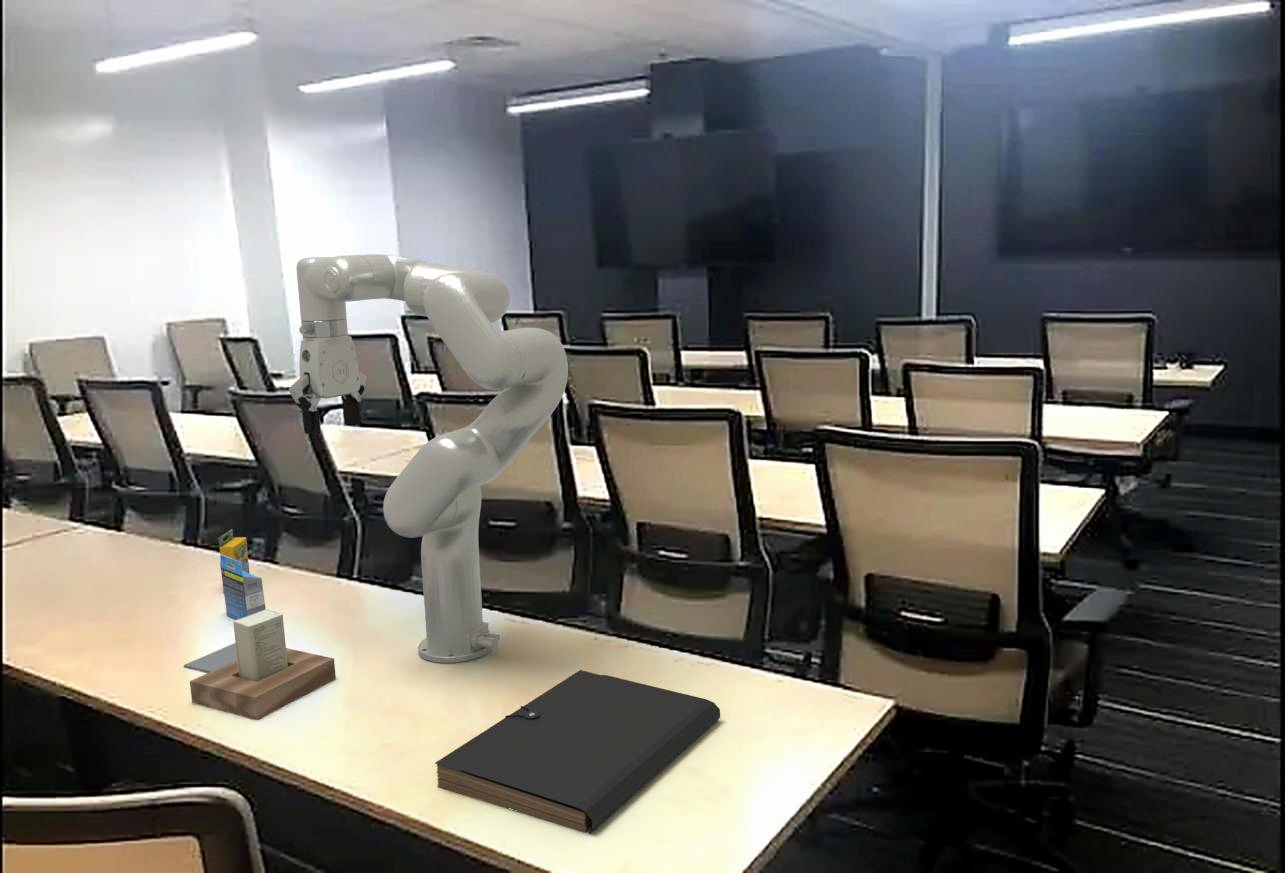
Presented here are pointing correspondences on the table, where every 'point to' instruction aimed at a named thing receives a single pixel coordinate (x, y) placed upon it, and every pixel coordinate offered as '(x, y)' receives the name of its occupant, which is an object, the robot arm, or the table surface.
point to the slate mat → (214, 659)
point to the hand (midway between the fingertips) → (333, 428)
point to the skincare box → (260, 645)
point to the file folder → (578, 748)
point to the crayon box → (234, 550)
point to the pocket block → (262, 685)
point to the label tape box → (241, 590)
